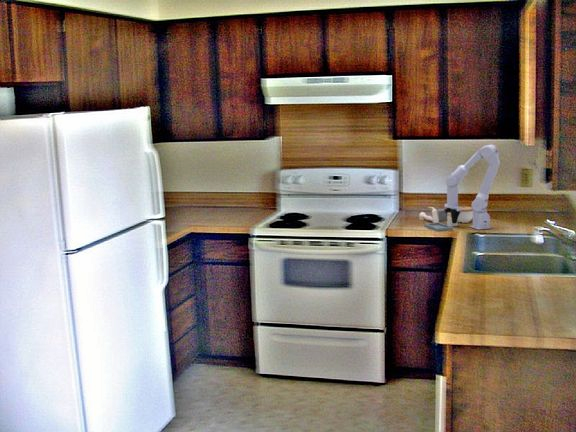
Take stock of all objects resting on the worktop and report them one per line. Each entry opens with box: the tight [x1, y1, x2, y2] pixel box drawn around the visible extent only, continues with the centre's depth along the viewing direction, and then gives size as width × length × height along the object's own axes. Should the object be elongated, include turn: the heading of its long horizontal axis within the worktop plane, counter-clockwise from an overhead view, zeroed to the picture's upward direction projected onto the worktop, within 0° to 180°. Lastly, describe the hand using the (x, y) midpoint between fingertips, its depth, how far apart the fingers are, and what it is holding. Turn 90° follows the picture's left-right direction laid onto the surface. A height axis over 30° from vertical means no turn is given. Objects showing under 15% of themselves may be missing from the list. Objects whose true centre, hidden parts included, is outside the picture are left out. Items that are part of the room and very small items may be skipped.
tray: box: [423, 222, 454, 232], centre depth 400 cm, size 15×9×2 cm, turn 17°
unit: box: [436, 208, 447, 222], centre depth 422 cm, size 6×9×6 cm, turn 107°
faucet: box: [418, 206, 439, 223], centre depth 421 cm, size 4×18×10 cm, turn 19°
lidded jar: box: [458, 204, 473, 224], centre depth 415 cm, size 11×11×9 cm
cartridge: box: [446, 212, 459, 227], centre depth 406 cm, size 4×4×7 cm
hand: (452, 222), depth 406 cm, fingers closed on cartridge, 4 cm apart
